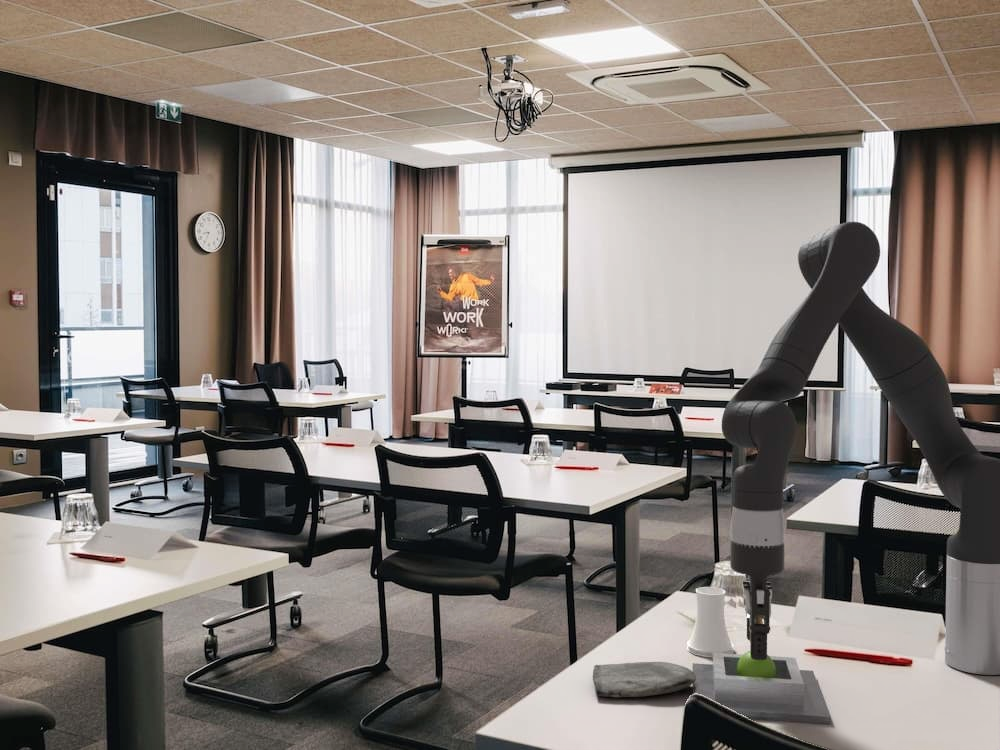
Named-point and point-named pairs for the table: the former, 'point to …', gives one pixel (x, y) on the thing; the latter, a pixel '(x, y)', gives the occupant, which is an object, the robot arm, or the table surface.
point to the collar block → (763, 690)
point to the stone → (640, 679)
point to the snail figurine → (756, 664)
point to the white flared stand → (710, 624)
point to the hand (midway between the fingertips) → (756, 649)
